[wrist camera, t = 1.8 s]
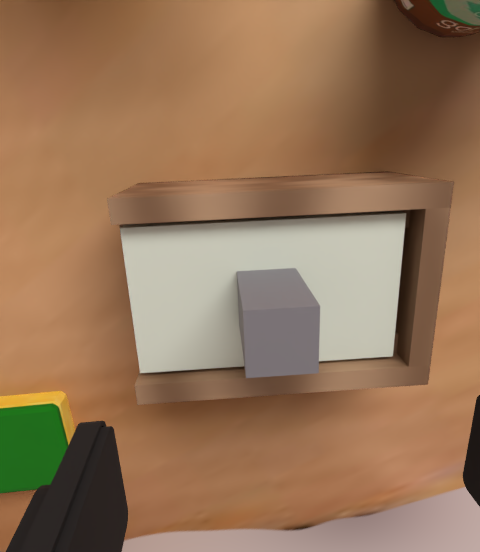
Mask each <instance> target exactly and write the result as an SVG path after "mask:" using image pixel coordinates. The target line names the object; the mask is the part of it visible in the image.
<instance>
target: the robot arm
mask: <svg viewBox="0 0 480 552" xmlns="http://www.w3.org/2000/svg"><path fill="white" fill-rule="evenodd" d="M463 481H464V484H465V486H466V488H467V490H468V492H469V493H470V494H471V496H472V497H473V498H474V500H475V501H476V502H477V504H478V505H479V506H480V395H479V396H478V397H477V400H476V405H475V411H474V416H473V422H472V427H471V433H470V438H469V444H468V449H467V455H466V460H465V466H464V471H463ZM127 521H128V507H127V502H126V496H125V490H124V485H123V479H122V473H121V467H120V462H119V456H118V450H117V445H116V439H115V433H114V429H113V427H112V426H110V427H106V424H105V422H104V421H96V422H84V423H80V424H78V426H77V428H76V430H75V432H74V434H73V437H72V439H71V441H70V443H69V445H68V448H67V450H66V452H65V454H64V456H63V458H62V461H61V463H60V465H59V467H58V469H57V471H56V474H55V476H54V478H53V480H52V482H51V485H42V486H40V487H39V488H38V489H37V491H36V492H35V494H34V496H33V498H32V500H31V502H30V504H29V506H28V508H27V510H26V512H25V514H24V516H23V518H22V520H21V522H20V524H19V526H18V528H17V530H16V532H15V534H14V536H13V538H12V540H11V542H10V544H9V546H8V548H7V550H6V552H121V551H122V546H123V542H124V537H125V532H126V527H127Z"/></svg>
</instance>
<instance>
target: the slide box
mask: <svg viewBox="0 0 480 552" xmlns="http://www.w3.org/2000/svg"><path fill="white" fill-rule="evenodd" d="M453 185H454V182H452V181H446V180H439V179H432V178H426V177H419V176H413V175H406V174H400V173H393V172H369V173H348V174H326V175H305V176H284V177H263V178H242V179H220V180H199V181H178V182H157V183H138V184H136V185H134V186H132V187H130V188H128V189H126V190H124V191H122V192H120V193H118V194H116V195H114V196H112V197H109V198H107V201H108V208H109V215H110V221H111V225H120V228H121V227H122V226H123V225H133V224H152V223H172V222H191V221H211V220H230V219H249V218H269V217H288V216H308V215H327V214H347V213H366V212H386V211H401V212H404V213H406V221H405V232H404V243H403V254H402V264H401V275H400V286H399V296H398V307H397V318H396V329H395V339H394V350H393V356H390V357H376V358H361V359H346V360H331V361H319V373H315V374H301V375H286V376H271V377H257V378H246V375H245V367H244V366H241V367H226V368H211V369H196V370H181V371H166V372H151V373H140V371H139V374H138V377H137V380H136V383H135V391H136V398H137V405H142V404H156V403H171V402H185V401H199V400H213V399H228V398H242V397H256V396H270V395H285V394H299V393H313V392H327V391H342V390H356V389H370V388H384V387H399V386H413V385H427V384H428V380H429V372H430V364H431V356H432V348H433V341H434V333H435V325H436V317H437V310H438V302H439V294H440V286H441V278H442V271H443V263H444V255H445V247H446V239H447V232H448V224H449V216H450V208H451V200H452V193H453Z"/></svg>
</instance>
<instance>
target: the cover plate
mask: <svg viewBox="0 0 480 552" xmlns="http://www.w3.org/2000/svg"><path fill="white" fill-rule="evenodd" d="M405 221H406V213H404V212H401V211H386V212H366V213H347V214H327V215H308V216H288V217H269V218H249V219H230V220H211V221H191V222H172V223H152V224H133V225H123V226H122V227H121V228H120V233H121V240H122V247H123V254H124V261H125V268H126V276H127V283H128V290H129V297H130V304H131V311H132V318H133V325H134V333H135V340H136V347H137V354H138V361H139V368H140V373H151V372H166V371H181V370H196V369H211V368H226V367H241V366H244V367H245V375H246V378H257V377H271V376H286V375H301V374H315V373H319V361H331V360H346V359H361V358H376V357H390V356H393V350H394V339H395V329H396V318H397V307H398V296H399V286H400V275H401V264H402V254H403V243H404V232H405Z"/></svg>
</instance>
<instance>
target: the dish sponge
mask: <svg viewBox="0 0 480 552" xmlns="http://www.w3.org/2000/svg"><path fill="white" fill-rule="evenodd" d="M74 432H75V427H74V423H73V419H72V415H71V411H70V407H69V403H68V399H67V395H66V394H65V393H63V392H62V391H55V392H44V393H34V394H24V395H13V396H3V397H0V493H7V492H17V491H26V490H36V489H38V488H39V487H40V486H42V485H51V482H52V480H53V478H54V476H55V474H56V471H57V469H58V467H59V465H60V463H61V461H62V458H63V456H64V454H65V452H66V450H67V448H68V445H69V443H70V441H71V439H72V437H73V434H74Z"/></svg>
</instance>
